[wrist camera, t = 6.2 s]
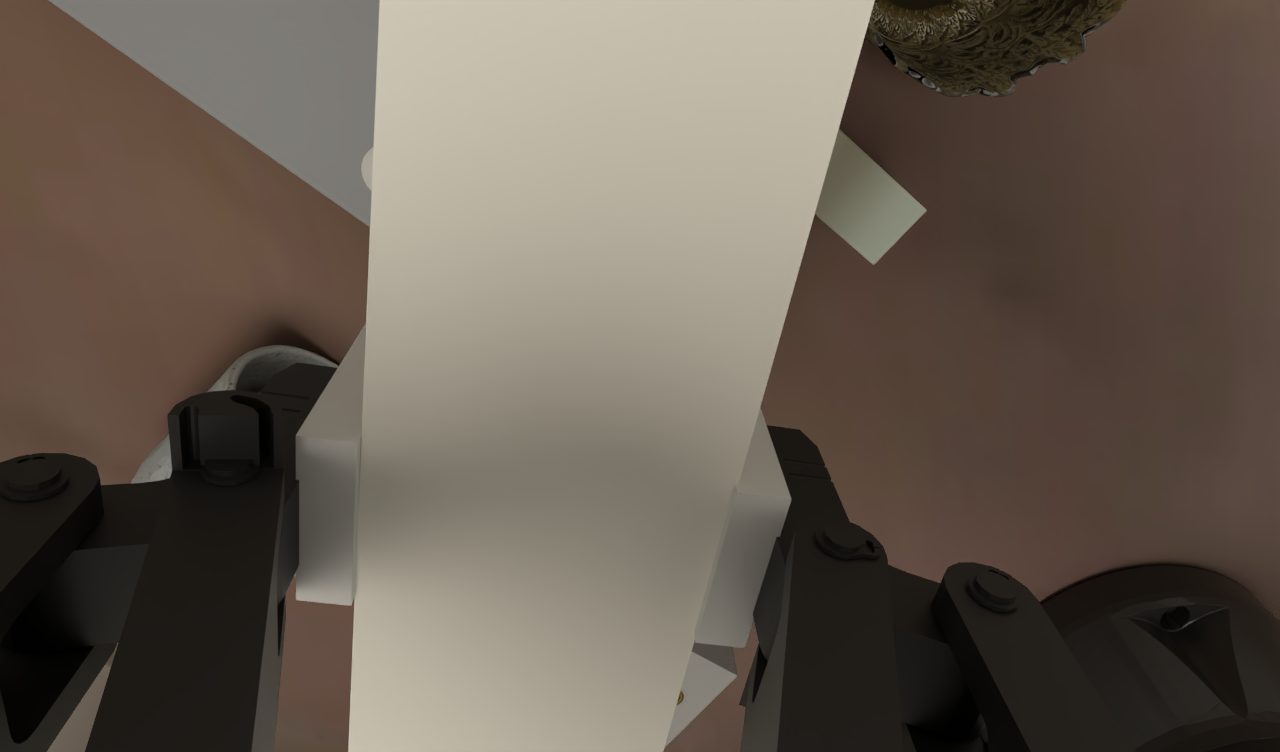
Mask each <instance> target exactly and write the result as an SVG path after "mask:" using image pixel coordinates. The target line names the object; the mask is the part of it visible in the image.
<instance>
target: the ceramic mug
mask: <svg viewBox="0 0 1280 752" xmlns="http://www.w3.org/2000/svg"><path fill="white" fill-rule="evenodd" d="M297 362H298V363H306V364H313V365H320V366H327V367H335V368H338V367H339V366H338V365H337V364H335V363H333V362H331V361H330V360H328V359H326V358H324V357H322V356H320V355H318V354H316V353H313V352H310V351H307V350H304V349H301V348H298V347H293V346H287V345H271V346H264V347H260V348H257V349H254V350H251V351H248V352H247V353H245V354H244V355H242V356H241V357H239V358H238V359H237V360H236V361H235V362H234V363H233V364H232V365H231V366H230V367H229V368H228V369H227V370H226V371H225V373H224V374H223V375H222V376H221V377H220V378H219V380H218V381H217V382H216V383H215V384H214V385H213V386H212V387H211V388H210V389H209V390H208V391H207V392H211V391H223V390H239V391H249V392H255V393H258V394H261V390H262V389H263V388H264V386H265V385H266V384H267V383H268V381H269V380H270V379H271V377H272V376H273V375H274V374H276V373H278V372H280V371H282V370H283V369H285V368H287V367H289V366H291V365H293V364H295V363H297ZM207 392H206V393H207ZM171 472H172V464H171V451H170V439H169V434H168V435H167V436H166V437H165V438H164V439H163V440H162V441H161V442H160V443H159V444H158V445H157V446H156V447H155V448H154V449H153V451H152V452H151V453H150V454H149V455H148V456H147V457H146V459H145V460H144V461H143V463H142V464H141V466H140V468H139V470H138V471H137V473H136V475H135V476H134V478H133V480H132V482H131V483H144V482H152V481H160V480H164V479H168V478H170V476H171ZM294 576H296V573H295V575H294Z"/></svg>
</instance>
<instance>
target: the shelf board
mask: <svg viewBox="0 0 1280 752" xmlns="http://www.w3.org/2000/svg"><path fill="white" fill-rule="evenodd" d="M874 2H875V0H380V3H379V27H378V51H377V75H376V99H375V123H374V147H373V171H372V195H371V219H370V243H369V267H368V291H367V315H366V339H365V363H364V387H363V411H362V435H361V459H360V483H359V507H358V531H357V555H356V582H355V603H354V627H353V651H352V675H351V699H350V723H349V748H348V752H663V751H664V747H665V744H666V740H667V737H668V733H669V730H670V726H671V722H672V719H673V715H674V712H675V708H676V705H677V701H678V698H679V694H680V690H681V687H682V683H683V680H684V676H685V673H686V669H687V666H688V662H689V659H690V655H691V651H692V648H693V644H694V641H695V636H694V631H695V627H696V623H697V620H698V616H699V612H700V609H701V605H702V602H703V598H704V594H705V591H706V587H707V583H708V580H709V576H710V573H711V569H712V565H713V562H714V558H715V554H716V551H717V547H718V544H719V540H720V536H721V533H722V529H723V525H724V522H725V518H726V515H727V511H728V507H729V504H730V500H731V496H732V493H733V489H734V486H735V483H736V484H739V481H740V477H741V474H742V470H743V467H744V463H745V460H746V456H747V453H748V449H749V446H750V442H751V438H752V435H753V431H754V428H755V424H756V421H757V417H758V414H759V410H760V406H761V403H762V399H763V396H764V392H765V389H766V385H767V382H768V378H769V375H770V371H771V367H772V364H773V360H774V357H775V353H776V350H777V346H778V343H779V339H780V335H781V332H782V328H783V325H784V321H785V318H786V314H787V311H788V307H789V304H790V300H791V296H792V293H793V289H794V286H795V282H796V279H797V275H798V272H799V268H800V264H801V261H802V257H803V254H804V250H805V247H806V243H807V240H808V236H809V233H810V229H811V225H812V222H813V218H814V215H815V211H816V208H817V204H818V201H819V197H820V193H821V190H822V186H823V183H824V179H825V176H826V172H827V169H828V165H829V162H830V158H831V154H832V151H833V147H834V144H835V140H836V137H837V133H838V130H839V126H840V122H841V119H842V115H843V112H844V108H845V105H846V101H847V98H848V94H849V90H850V87H851V83H852V80H853V76H854V73H855V69H856V66H857V62H858V59H859V55H860V51H861V48H862V44H863V41H864V37H865V34H866V30H867V27H868V23H869V19H870V16H871V12H872V9H873V5H874Z"/></svg>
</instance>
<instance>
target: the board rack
mask: <svg viewBox="0 0 1280 752" xmlns="http://www.w3.org/2000/svg"><path fill="white" fill-rule="evenodd" d="M926 211H927V210H926V209H925V208H924V207H923V206H922V205H921V204H920V203H919V202H917V201H916V200H915V199H914V198H913V197H912V196H911V195H910V194H909V193H908V192H907V191H906V190H904V189H903V188H902V187H901V186H900V185H899V184H898V183H897V182H896V181H895V180H894V179H893V178H892V177H890V176H889V175H888V174H887V173H886V172H885V171H884V170H883V169H882V168H881V167H880V166H879V165H877V164H876V163H875V162H874V161H873V160H872V159H871V158H870V157H869V156H868V155H867V154H866V153H865V152H863V151H862V150H861V149H860V148H859V147H858V146H857V145H856V144H855V143H854V142H853V141H852V140H851V139H849V138H848V137H847V136H846V135H845V134H844V133H843V132H842V131H841V130H840V129H839V130H838V133H837V137H836V140H835V144H834V147H833V151H832V154H831V158H830V162H829V165H828V169H827V172H826V176H825V179H824V183H823V186H822V190H821V193H820V197H819V201H818V204H817V208H816V211H815V215H817V216H818V217H819V218H820V219H821V220H822V221H823V222H825V223H826V224H827V225H828V226H829V227H830V228H831V229H833V230H834V231H835V232H836V233H837V234H838V235H839V236H841V237H842V238H843V239H844V240H845V241H846V242H848V243H849V244H850V245H851V246H852V247H853V248H854V249H856V250H857V251H858V252H859V253H860V254H861V255H862V256H864V257H865V258H866V259H867V260H868V261H869V262H870V263H872V264H873V265H874V264H875V263H876V262H877V261H878V260H879V259H880V258H881V257H882V256H883V255H884V254H885V253H886V252H887V251H888V250H889V249H890V248H891V247H892V246H893V245H894V244H895V243H896V242H897V241H898V240H899V239H900V238H901V237H902V235H903V234H904V233H905V232H906V231H907V230H908V229H909V228H910V227H911V226H912V225H913V224H914V223H915V222H916V221H917V220H918V219H919V218H920V217H921V216H922V215H923V214H924V213H925V212H926Z"/></svg>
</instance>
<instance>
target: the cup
mask: <svg viewBox="0 0 1280 752" xmlns="http://www.w3.org/2000/svg"><path fill="white" fill-rule="evenodd" d="M1125 2H1126V0H875V2H874V5H873V9H872V12H871V16H870V19H869V23H868V27H867V30H866V34H865V36H866V38H867V39H868V40H869V41H870V42H871V43H872V44H873V45H874V46H875V47H876V48H877V49H878V50H879V51H880V52H881V53H882V54H883V55H884V56H886V57H887V58H888V59H889V60H890V62H891V63H892V64H893V65H894V66H895V67H896V68H897V69H898V70H899V71H900V72H901V73H906V74H908V75H909V76H911V77H913V78H914V79H916V80H917V81H919V82H920V83H922V84H923V85H925V86H927V87H929V88H931V89H932V90H934V91H936V92H939V93H941V94H943V95H946V96H950V97H965V96H969V95H973V94H982V95H985V96H995V97H1002V96H1008V95H1010V94H1012V93H1013V92H1014V91H1015V87H1016V86H1017V85H1016V84H1017V82H1015V81H1016V79H1018V78H1021V77H1025V76H1030V75H1032V74H1034V73H1035V72H1036V70H1037V69H1038V68H1040V67H1042V66H1043V65H1045V64H1047V63H1056V62H1057V63H1061V64H1067V63H1069V62H1070V61H1072V60H1074V59H1075V58H1077V57H1078V56H1080V55H1081V54H1082V53H1083V52H1084V51H1085V48H1086V39H1085V37H1086V36H1088V35H1089V34H1091V33H1092V32H1094V31H1096V30H1098V29H1100V28H1101V27H1103V26H1104V25H1105V24H1106V23H1107V22H1108V21H1109V20H1110V19H1111V18H1112V17H1113V16H1114V15H1115V14H1116V13H1117V12H1118V11H1119V10H1120V8H1121V7H1122V6H1123V4H1124V3H1125Z"/></svg>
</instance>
